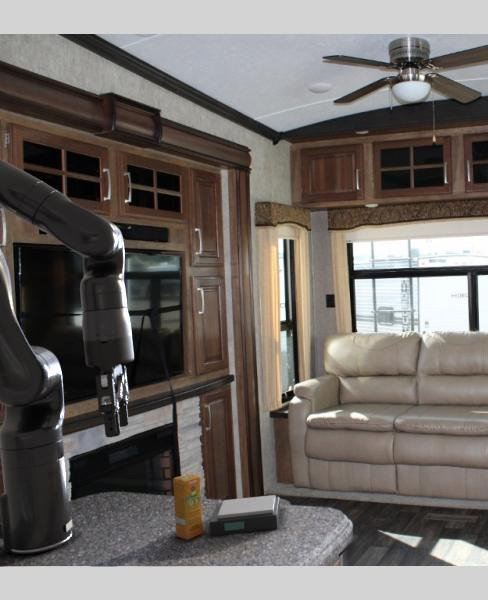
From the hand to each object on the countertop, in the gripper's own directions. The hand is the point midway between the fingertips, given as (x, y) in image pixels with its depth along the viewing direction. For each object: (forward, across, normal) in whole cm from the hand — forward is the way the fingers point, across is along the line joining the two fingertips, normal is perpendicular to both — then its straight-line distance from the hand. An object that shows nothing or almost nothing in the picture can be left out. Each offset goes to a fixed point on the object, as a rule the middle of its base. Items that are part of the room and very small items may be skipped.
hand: (117, 431), depth 114 cm
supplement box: (+18, +4, +10) cm, 22 cm away
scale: (+18, +2, +20) cm, 27 cm away
